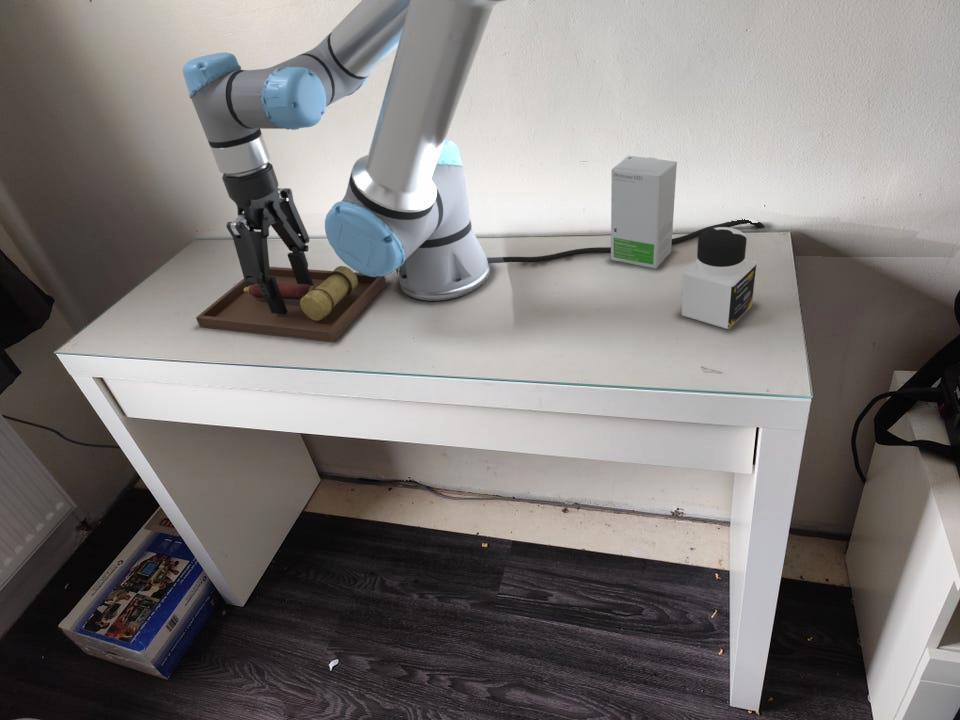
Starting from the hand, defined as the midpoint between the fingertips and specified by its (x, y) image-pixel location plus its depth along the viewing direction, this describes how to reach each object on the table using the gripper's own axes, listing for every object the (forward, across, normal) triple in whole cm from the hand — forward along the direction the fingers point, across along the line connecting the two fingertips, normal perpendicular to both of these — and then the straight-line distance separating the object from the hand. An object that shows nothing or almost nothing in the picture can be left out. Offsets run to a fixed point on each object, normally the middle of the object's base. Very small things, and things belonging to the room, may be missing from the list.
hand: (293, 299), depth 113 cm
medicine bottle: (+2, -8, +67) cm, 67 cm away
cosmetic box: (+2, -23, +54) cm, 59 cm away
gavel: (0, 0, 0) cm, 0 cm away
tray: (+1, 0, 0) cm, 1 cm away
